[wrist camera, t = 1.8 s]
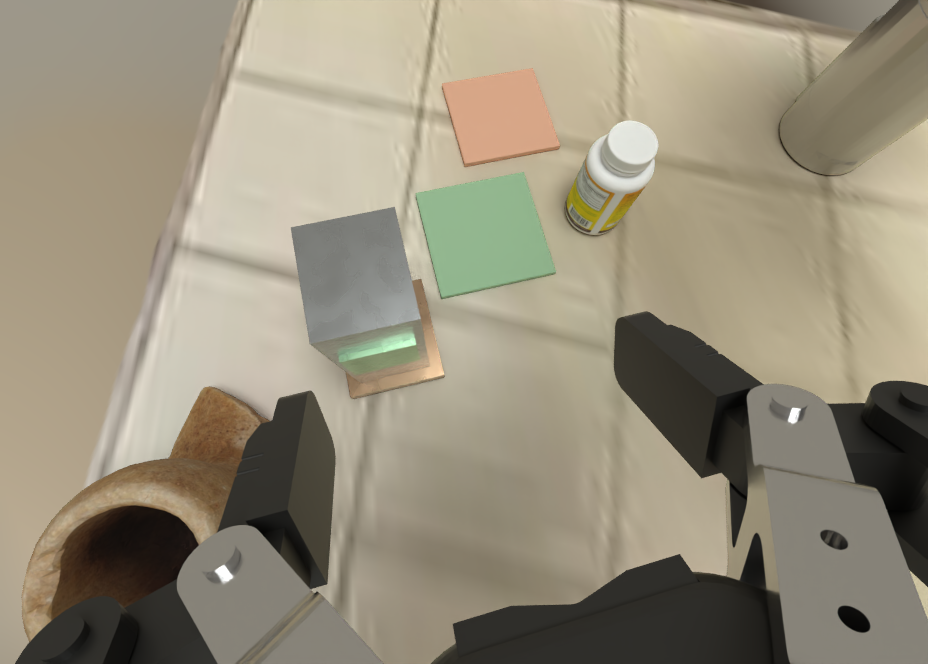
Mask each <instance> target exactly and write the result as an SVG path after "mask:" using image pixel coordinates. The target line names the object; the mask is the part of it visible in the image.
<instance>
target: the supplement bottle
mask: <svg viewBox="0 0 928 664" xmlns="http://www.w3.org/2000/svg"><path fill="white" fill-rule="evenodd" d="M657 151H658V140H657V137H656V135H655V133H654V132H653V131H652V130H651V129H650V128H649V127H648V126H646V125H645V124H643V123H640V122H637V121H623V122H620V123H618V124H616V125H615V126H614V127H613V128H612V129H611V130H610V132H609V133H608V134H607V135H604V136H602V137H601V138H599V139H598V140H597V141H596V142H595V143H594V144H593V145H592V146H591V148H590V150H589V152H588V154H587V156H586V158H585V160H584V163H583V165H582V167H581V169H580V171H579V173H578V175H577V178H576V180H575V182H574V184H573V186H572V188H571V191H570V193H569V195H568V197H567V200H566V204H565V211H566V215H567V218H568V220H569V222H570V223H571V224H572V225H573V226H574V227H575V228H576V229H577V230H579V231H581V232H583V233H586V234H590V235H600V234H604V233H607V232H609V231H610V230H612V229H613V228H614V227H615V226H616V225H617V224H618V223H619V221H620V220H621V219H622V217H623V216H624V215H625V213H626V212H627V210H628V209H629V208H630V206H631V205H632V204H633V202H634V201H635V200H636V198H637V197H638V196H639V194H640V193H641V192H642V190H643V189H644V188H645V186H646V185H647V184H648V182H649V181H650V179H651V178H652V176H653V173H654V168H655V161H654V157H655V155H656V153H657Z"/></svg>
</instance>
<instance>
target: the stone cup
mask: <svg viewBox="0 0 928 664" xmlns="http://www.w3.org/2000/svg"><path fill="white" fill-rule="evenodd" d="M265 422H269V420H267V419H266V418H263V417H261V416H260V415H258V414H257V413H256V412H255V411H254V410H253V409H252V408H251V407H250V406H249V405H248V404H246V403H244V402H242V401H240V400H238V399H236V398H235V397H233V396H231V395H228V394H226V393H224V392H223V391H221V390H219V389H217V388H215V387H210V386H209V387H205V388H203V390H202V391H201V392H200V394H199V396H198V398H197V400H196V402H195V404H194V406H193V407H192V409H191V411H190V414H189V416H188V418H187V420H186V422H185V424H184V426H183V427H182V430H181V432H180V434H179V436H178V438H177V440H176V442H175V444H174V447H173V449H172V452H171V455H170V457H169V458H168V459H160V460H153V461H148V462H143V463H138V464H134V465H130V466H128V467H125V468H123V469H120V470H118V471H116V472H114V473H112V474H110V475H108V476H106V477H104V478H102V479H100V480H98V481H96V482H94V483H93V484H91V485H90V486H88V487H87V488H85V489H84V490H82V491H81V492H80V493H79V494H77V495H76V496H75V497H74V498H73V499H72V500H71V501H70V502H68V503H67V504H66V505H65V506H64V507H63V508H62V509H61V510H60V511H59V513H58V514H57V515H56V516H55V517H54V518H53V519H52V520H51V522H50V523H49V525H48V526H47V528H46V529H45V531H44V533H43V534H42V536H41V537H40V539H39V541H38V542H37V544H36V546H35V549H34V551H33V554H32V557H31V559H30V562H29V565H28V568H27V572H26V576H25V581H24V585H23V592H22V617H23V623H24V629H25V632H26V634H27V637H28V639H29V642H30V641H31V640H32V639H33V638H34V637H35V636H36V635H37V633H38V632H40V631H41V630H42V629H43V628H44V627H45V626H46V625H47V624H48V623H49V622H51V621H52V620H53V619H54V618H55V617H57V616H58V615H60V614H61V613H62V612H64V611H65V610H67V609H69V608H70V607H72V606H74V605H76V604H78V603H80V602H82V601H84V600H87V599H90V598H94V597H98V596H108V597H112V598H114V599H115V600H117V601H118V602H119V603H120V604H121V605H122V606H123V607H124V608H125V607H127V606H129V605H131V604H132V603H134V602H136V601H138V600H140V599H142V598H143V597H145V596H147V595H149V594H151V593H153V592H155V591H156V590H158V589H160V588H162V587H164V586H166V585H167V584H169V583H171V582H173V581H174V580H176V579H177V578H178V575H179V572H180V570H181V568H182V566H183V564H184V562H185V561H186V559H187V558H188V557H189V555H190V554H191V553H192V552H193V551H194V550H195V549H196V548H197V547H198V546H199V545H200V544H201V543H202V542H204V541H205V540H206V539H207V538H209V537H210V536H212V535H213V534H215V533H217V531H218V528H219V525H220V522H221V519H222V515H223V512H224V509H225V506H226V503H227V500H228V497H229V494H230V491H231V488H232V485H233V482H234V479H235V477H236V476H237V470H238V466H239V463H240V462H241V461H242V459H241V457H242V454H243V451H244V448H245V445H246V442H247V440H248V439H249V438H250V436H251V435H252V434H253V433H254V431H255V430H256V429H257V428H258V426H259V425H260V424H261V423H265Z"/></svg>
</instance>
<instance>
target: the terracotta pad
mask: <svg viewBox="0 0 928 664" xmlns="http://www.w3.org/2000/svg"><path fill="white" fill-rule="evenodd" d="M442 89H443V92H444V96H445V99H446V103H447V106H448V110H449V113H450V117H451V120H452V123H453V127H454V130H455V134H456V137H457V141H458V144H459V148H460V151H461V155H462V158H463V162H464V165H465V167H467V166H472V165H477V164H483V163H488V162H493V161H498V160H503V159H509V158H514V157H519V156H524V155H530V154H535V153H540V152H545V151H551V150H556V149H559V147H560V144H559V141H558V138H557V135H556V133H555V130H554V127H553V124H552V121H551V118H550V116H549V113H548V110H547V107H546V104H545V102H544V99H543V96H542V93H541V90H540V87H539V85H538V82H537V79H536V76H535V73H534V71H533V68H531V69H525V70H519V71H513V72H507V73H501V74H496V75H490V76H484V77H478V78H472V79H466V80H460V81H455V82H449V83H443V84H442Z"/></svg>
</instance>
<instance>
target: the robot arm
mask: <svg viewBox="0 0 928 664" xmlns="http://www.w3.org/2000/svg"><path fill="white" fill-rule="evenodd" d="M927 119H928V0H899V1H898V2H897V3H896V4H895V5H894V6H893V7H892V8H891V9H890V10H889V11H888V12H887V13H886V14H885V15H882V16H879V17H877V18H876V19H875V20H874V21H873V22H872V23H871V24H870V25H869V26H868V27H867V28H866V29H865V30H864V31H863V32H862V33H861V34H860V35H859V36H858V37H857V38H856V39H855V40H854V41H853V42H852V43H851V44H850V45H849V46H848V47H847V48H846V49H845V50H844V51H843V52H842V53H841V54H840V55H839V56H838V57H837V58H836V59H835V60H834V61H833V62H832V63H831V64H830V65H829V66H828V67H827V68H826V69H825V70H824V71H823V72H822V73H821V74H820V75H819V76H818V77H817V78H816V79H815V80H814V81H813V82H812V83H811V84H810V85H809V86H808V87H807V88H806V89H805V90H804V91H803V92H802V93H801V94H800V95H799V96H798V97H797V99H796V103H795V104H794V105H793V106H792V107H791V108H790V109H789V110H788V111H787V112H786V113H785V114H784V116H783V117H782V120H781V122H780V129H779V130H780V138H781V140H782V143H783V146H784V147H785V149H786V150H787V152H788V153H789V154H790V156H791V157H792V158H793V159H794V160H795V161H797V162H798V163H799V164H800V165H802V166H803V167H805V168H807V169H809V170H811V171H814V172H816V173H819V174H825V175H841V174H846V173H848V172H850V171H852V170H854V169H855V168H857V167H858V166H860V165H861V164H863V163H864V162H866V161H867V160H868V159H870V158H871V157H873V156H874V155H876V154H877V153H879V152H880V151H882V150H883V149H884V148H886V147H887V146H889V145H891V144H892V143H893V142H895V141H896V140H898V139H899V138H901V137H902V136H904V135H905V134H906V133H908V132H909V131H911V130H912V129H914V128H915V127H917V126H918V125H920V124H921V123H922V122H924V121H925V120H927ZM614 371H615V376H616V379H617V381H618V383H619V385H620V387H621V388H622V389H623V390H624V392H625V393H626V394H627V395H628V396H629V397H630V398H631V399H632V401H633V402H634V403H635V404H636V405H637V406H638V407H639V408H640V410H641V411H642V412H643V413H644V414H645V415H646V416H647V417H648V419H649V420H650V421H651V422H652V423H653V424H654V425H655V426H656V428H657V429H658V430H659V431H660V432H661V433H662V434H663V435H664V437H665V438H666V439H667V440H668V441H669V442H670V443H671V444H672V446H673V447H674V448H675V449H676V450H677V451H678V452H679V453H680V455H681V456H682V457H683V458H684V459H685V460H686V461H687V462H688V464H689V465H690V466H691V467H692V468H693V469H694V470H695V471H696V473H697V474H698V475H699V476H700V477H701V478H704V477H707V476H711V475H714V474H718V473H722V474H723V475H724V476H725V477H726V478H727V483H726V488H725V495H726V522H727V550H728V565H727V575H726V576H721V575H717V574H710V573H701V572H692V571H691V570H690V568H689V567H688V565H687V564H686V562H685V561H684V560H683V558H682V557H681V555H680V554H679V555H675V556H672V557H669V558H665V559H662V560H659V561H656V562H652V563H649V564H646V565H643V566H639V567H636V568H633V569H630V570H626V571H625V572H624V573H622V574H621V575H619V576H618V577H616V578H615V579H613V580H612V581H610V582H609V583H607V584H606V585H604V586H603V587H602V588H600V589H599V590H597V591H596V592H594V593H593V594H591V595H590V596H588V597H587V598H585V599H584V600H583V601H581V602H579V603H576V604H571V605H530V606H509V607H506V608H503V609H499V610H496V611H493V612H490V613H486V614H483V615H480V616H477V617H473V618H470V619H467V620H464V621H460V622H457V623H454V624H453V628H454V634H455V639H456V644H455V645H453V646H452V647H450V648H449V649H447V650H446V651H444V652H443V653H442V654H441V655H440V656H439V657H437V658H436V659H435V660H434V661H433V662H432V663H431V664H928V619H927V616H926V614H925V611H924V608H923V606H922V603H921V600H920V598H919V595H918V592H917V590H916V587H915V584H914V582H913V579H912V576H911V574H910V571H911V572H912V573H913V574H914V575H915V576H917V577H918V578H919V579H920V580H921V581H922V582H923V583H924V584H925V585H926V586H927V587H928V386H926V385H923V384H918V383H913V382H906V381H887V382H882V383H878V384H876V385H874V386H873V387H872V389H871V391H870V393H869V396H868V398H867V401H866V403H849V404H827V403H825V402H824V401H823V400H822V399H821V398H819V397H818V396H816V395H814V394H812V393H810V392H808V391H806V390H803V389H800V388H797V387H793V386H789V385H783V384H765V385H764V384H762V383H761V382H759V381H758V380H757V379H755V378H754V377H752V376H751V375H750V374H748V373H747V372H745V371H744V370H743V369H741V368H740V367H739V366H737V365H736V364H734V363H733V362H732V361H730V360H729V359H727V358H726V357H725V356H723V355H722V354H718V351H716V350H715V349H714V348H712V347H711V346H709V345H706V343H705V342H704V341H702V340H701V339H700V338H698V337H697V336H695V335H694V334H693V333H691V332H689V331H686V330H684V329H681V328H678V327H676V326H673V325H666V324H665V323H663V322H662V321H661V320H659V319H658V318H657V317H655V316H654V315H653V314H651V313H650V312H641V313H637V314H633V315H629V316H625V317H621V318H619V319H618V320H617V321H616V325H615V349H614ZM241 459H242V461H241V462H240V463H239V466H238V470H237V476H236V477H235V479H234V482H233V485H232V488H231V491H230V494H229V497H228V500H227V503H226V506H225V509H224V512H223V515H222V519H221V522H220V525H219V528H218V531H217V533H215V534H213V535H212V536H210V537H209V538H207V539H206V540H205V541H204V542H202V543H201V544H200V545H199V546H198V547H197V548H196V549H195V550H194V551H193V552H192V553H191V554H190V555H189V557H188V558H187V559H186V561H185V562H184V564H183V566H182V568H181V570H180V572H179V575H178V578H177V579H176V580H174V581H173V582H171V583H169V584H167V585H166V586H164V587H162V588H160V589H158V590H156V591H155V592H153V593H151V594H149V595H147V596H145V597H143V598H142V599H140V600H138V601H136V602H134V603H132V604H131V605H129V606H127V607H125V608H124V607H123V606H122V605H121V604H120V603H119V602H118V601H117V600H115V599H114V598H112V597H108V596H98V597H94V598H90V599H87V600H84V601H82V602H80V603H78V604H76V605H74V606H72V607H70V608H69V609H67V610H65V611H64V612H62V613H61V614H60V615H58V616H57V617H55V618H54V619H53V620H52V621H51V622H49V623H48V624H47V625H46V626H45V627H44V628H43V629H42V630H41V631H40V632H38V633H37V635H36V636H35V637H34V638H33V639H32V640H31V641H30V642H29V644H28V645H27V646H26V648H25V649H24V650H23V652H22V653H21V655H20V657H19V658H18V660H17V661H16V663H15V664H383V663H382V661H381V660H380V659H379V658H378V657H377V656H376V655H375V654H374V652H373V651H372V650H371V649H370V648H369V647H368V646H367V645H366V644H365V642H364V641H363V640H362V639H361V638H360V637H359V636H358V635H357V633H356V632H355V631H354V630H353V629H352V628H351V627H350V626H349V625H348V623H347V622H346V621H345V620H344V619H343V618H342V617H341V616H340V614H339V613H338V612H337V611H336V610H335V609H334V608H333V607H332V606H331V604H330V603H329V602H328V601H327V600H326V599H325V598H324V597H323V596H322V595H321V594H320V593H318V592H316V593H315V594H314V593H313V592H312V591H311V590H310V589H312V588H316V587H319V586H323V585H326V584H327V580H328V565H329V550H330V535H331V521H332V506H333V491H334V476H335V449H334V444H333V440H332V437H331V434H330V432H329V429H328V427H327V424H326V422H325V419H324V417H323V414H322V412H321V409H320V407H319V404H318V402H317V400H316V397H315V395H314V393H313V392H312V391H307V392H302V393H298V394H294V395H290V396H286V397H282V398H279V399H278V402H277V405H276V409H275V413H274V416H273V420H272V421H269V422H265V423H261V424H260V425H259V426H258V428H257V429H256V430H255V431H254V433H253V434H252V435H251V436H250V438H249V439H248V440H247V442H246V445H245V448H244V451H243V454H242V457H241ZM909 570H910V571H909Z"/></svg>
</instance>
